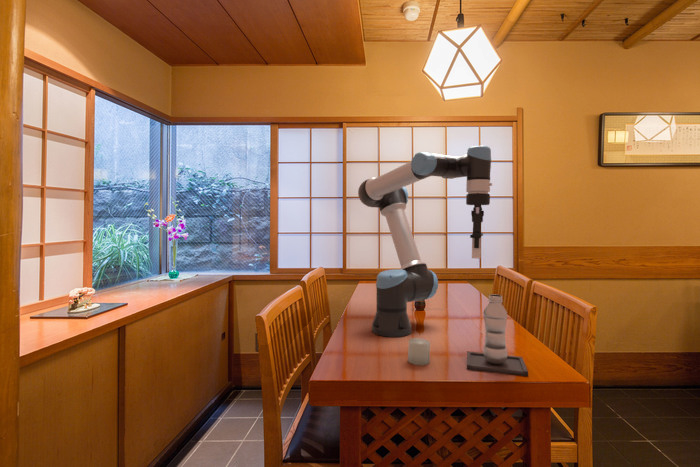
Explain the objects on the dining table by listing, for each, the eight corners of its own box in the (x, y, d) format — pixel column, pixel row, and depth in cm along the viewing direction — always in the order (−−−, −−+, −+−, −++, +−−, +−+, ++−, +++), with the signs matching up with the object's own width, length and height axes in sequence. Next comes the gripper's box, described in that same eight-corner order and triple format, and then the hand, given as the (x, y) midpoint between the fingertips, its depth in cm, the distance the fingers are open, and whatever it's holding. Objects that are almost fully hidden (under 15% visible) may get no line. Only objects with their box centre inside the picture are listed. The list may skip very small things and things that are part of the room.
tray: (466, 369, 107) (466, 365, 107) (467, 355, 119) (467, 351, 119) (528, 376, 102) (528, 372, 102) (522, 360, 114) (522, 356, 114)
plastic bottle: (505, 368, 106) (506, 298, 105) (480, 364, 110) (481, 296, 109) (509, 361, 111) (509, 294, 111) (485, 357, 115) (486, 292, 114)
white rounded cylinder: (410, 365, 110) (411, 345, 110) (405, 357, 116) (406, 338, 116) (431, 365, 110) (432, 345, 110) (426, 357, 117) (426, 338, 116)
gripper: (490, 190, 112) (488, 260, 113) (489, 195, 136) (487, 253, 137) (464, 190, 115) (463, 259, 116) (467, 195, 138) (466, 252, 139)
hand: (476, 256), depth 126 cm, fingers open, 13 cm apart
